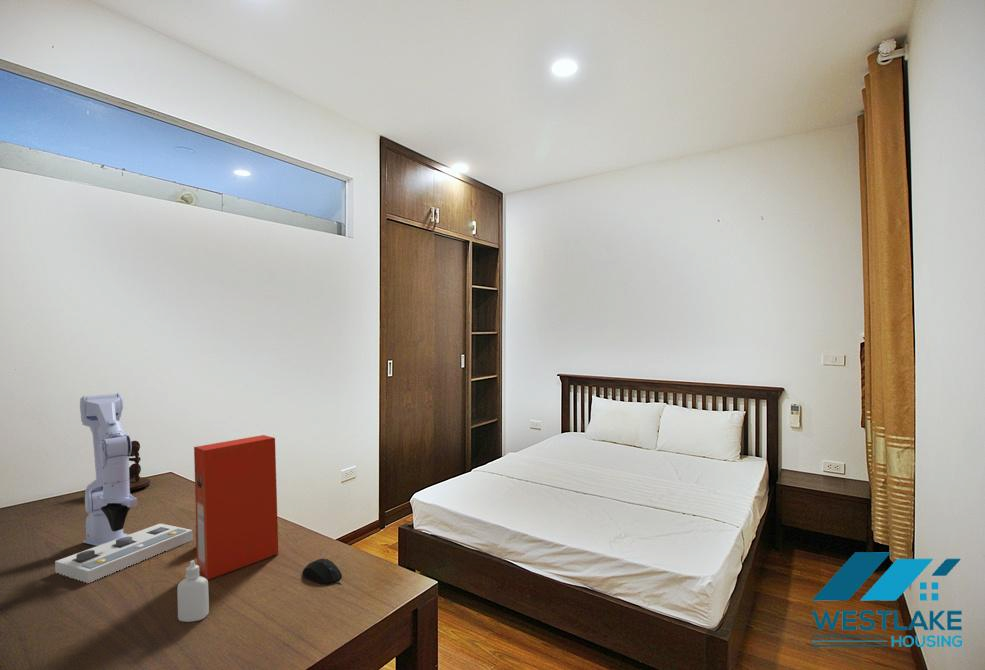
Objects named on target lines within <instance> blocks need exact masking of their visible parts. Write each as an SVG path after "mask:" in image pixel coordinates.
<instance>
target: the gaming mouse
mask: <svg viewBox="0 0 985 670" xmlns="http://www.w3.org/2000/svg"><path fill="white" fill-rule="evenodd" d="M302 576H303V577H304V579H306V580H309V581H311V582H313V583H316V584H318V585H320V586H329V585H332V584H333V585H334V584H337V585H339V586H343V584H342V583H341V582H340V580H341V579H342V578H343V576H342V572H341V571H340V569H339V567H337V565H336V564H335V563H334V562H333V561H332V560H330V559H328V558H319V559H316V560H314V561H312V562H310V563H308V564H307V565H306V566H305V567H304V568H303V570H302Z"/></svg>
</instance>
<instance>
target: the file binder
mask: <svg viewBox="0 0 985 670" xmlns="http://www.w3.org/2000/svg"><path fill="white" fill-rule="evenodd" d="M276 455H277V454H276V437H273V436H269V435H266V434H265V435H264V434H262V435H256V436H250V437H246V438H244V437H243V438H237V439H233V440H227V441H221V442H216V443H215V442H214V443H210V444H209V443H208V444H204V445H197V446H193V457H194V458H193V459H194V461H193V463H194V490H195V491H194V495H195V498H194V499H195V500H194V501H195V537H196V536H197V548H196V561H197V562H196V565H198V566H199V575H200V576H201V577H204V578H206V579H207V580H211V579H214V578H216V577H220V576H222V575H224V574H227V573H230V572H233V571H235V570H239V569H240V568H244V567H247V566H249V565H252V564H255V563H257V562H260V561H262V560H265V559H268V558H271V557H274V556H276V555H278V554H279V533H278V532H279V531H278V529H279V528H278V527H279V526H278V497H277V496H278V494H277V462H276V461H277V459H276V458H277V457H276ZM273 555H274V556H273Z"/></svg>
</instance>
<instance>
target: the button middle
mask: <svg viewBox="0 0 985 670" xmlns="http://www.w3.org/2000/svg"><path fill="white" fill-rule="evenodd" d="M130 544H132V537H130V536H129V537H123V538H120V539H118V540H116V547H118V548H122V547H124V546H127V545H130Z"/></svg>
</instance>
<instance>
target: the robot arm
mask: <svg viewBox="0 0 985 670" xmlns="http://www.w3.org/2000/svg"><path fill="white" fill-rule="evenodd" d="M123 408H124V400H123V395H122V394H121V393H119V392H117V393H110V394H101V395H87V396H86V395H82V397H80V400H79V409H80V410H79V411H80V421H81V423H82V426H86V427H88V428H89V429H90V432H91V434H92V443H93V454H94V455H93V457H94V467H95V478H96V479H95V480H93V481H92V482H90V484H88V485H87V486H86V488H85V491H84V493H85V495H84V508H85V512H86V513H87V514H88V515H87V516H86V518H85V537H86V539H84V540H82V543H83V544H88V545H91V546H93V547H96V546H99V545H102V544H104V543H107V542H110V541H113V540H116V539H118V538H121V537H124V536H127V535H129V534H130V533H125V532H124V526H125V522H126V519H127V515H128V513H129V511H130V509H131V508H133V507H135V506H138V498H137V497H135V496H133V495H132V493H131V490H130V486H129V467H130V461H129V458H130V457H128V456H127V455H129V456H130V455H131V448H132V447H131V442H132V440H131V437H130V435H129V434H128V433H125V430H124V426H123V423H121V422H120V419H121V417H122V411H123Z"/></svg>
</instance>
